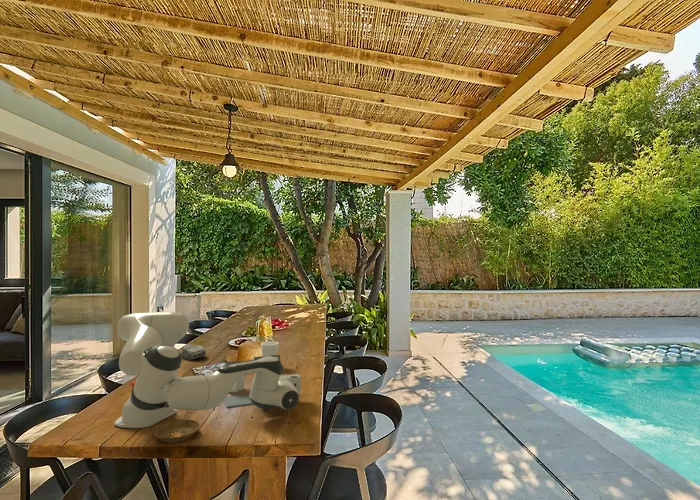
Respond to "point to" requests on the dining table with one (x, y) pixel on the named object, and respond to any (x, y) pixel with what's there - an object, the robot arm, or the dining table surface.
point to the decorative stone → (192, 352)
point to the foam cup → (269, 348)
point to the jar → (237, 381)
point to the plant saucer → (176, 430)
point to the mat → (238, 401)
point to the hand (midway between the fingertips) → (272, 377)
